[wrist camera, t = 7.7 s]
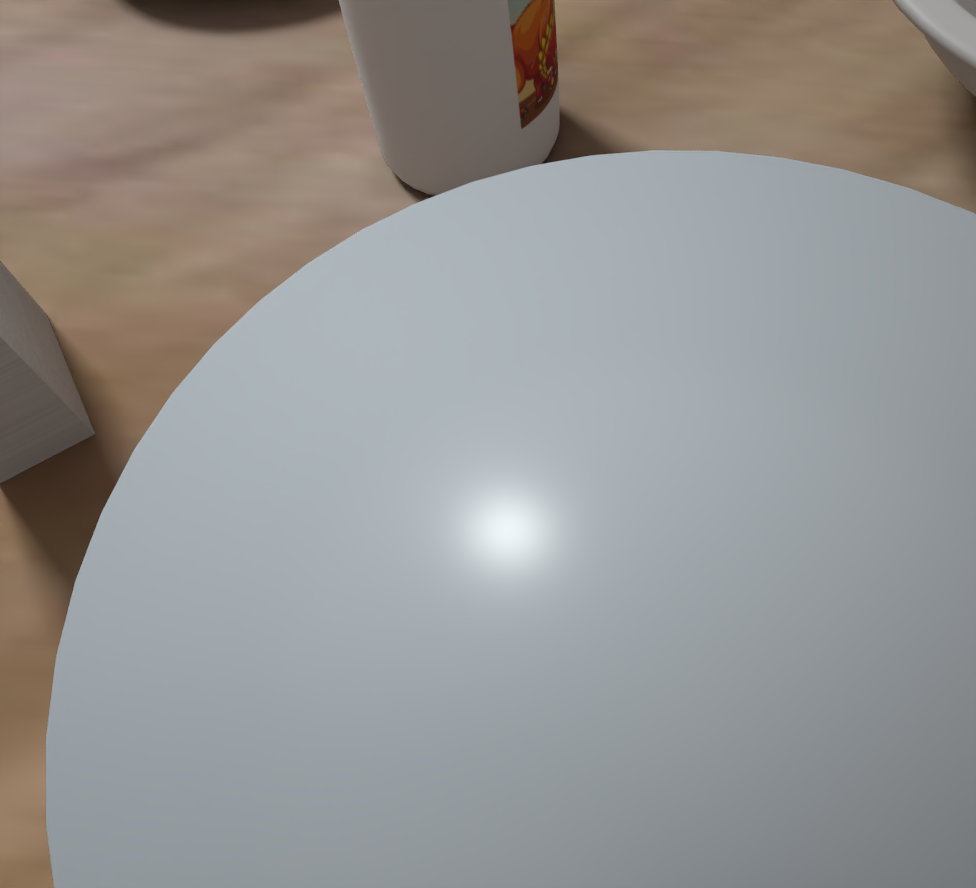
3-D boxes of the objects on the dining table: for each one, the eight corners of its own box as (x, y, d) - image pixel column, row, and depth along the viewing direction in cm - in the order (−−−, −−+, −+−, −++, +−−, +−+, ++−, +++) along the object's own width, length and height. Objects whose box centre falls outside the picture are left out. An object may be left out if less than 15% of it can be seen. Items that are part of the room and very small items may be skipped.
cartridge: (398, 885, 16) (-185, 679, 4) (587, 653, 17) (570, 35, 6) (648, 1143, 13) (988, 2374, 2) (836, 849, 15) (1630, 501, 4)
